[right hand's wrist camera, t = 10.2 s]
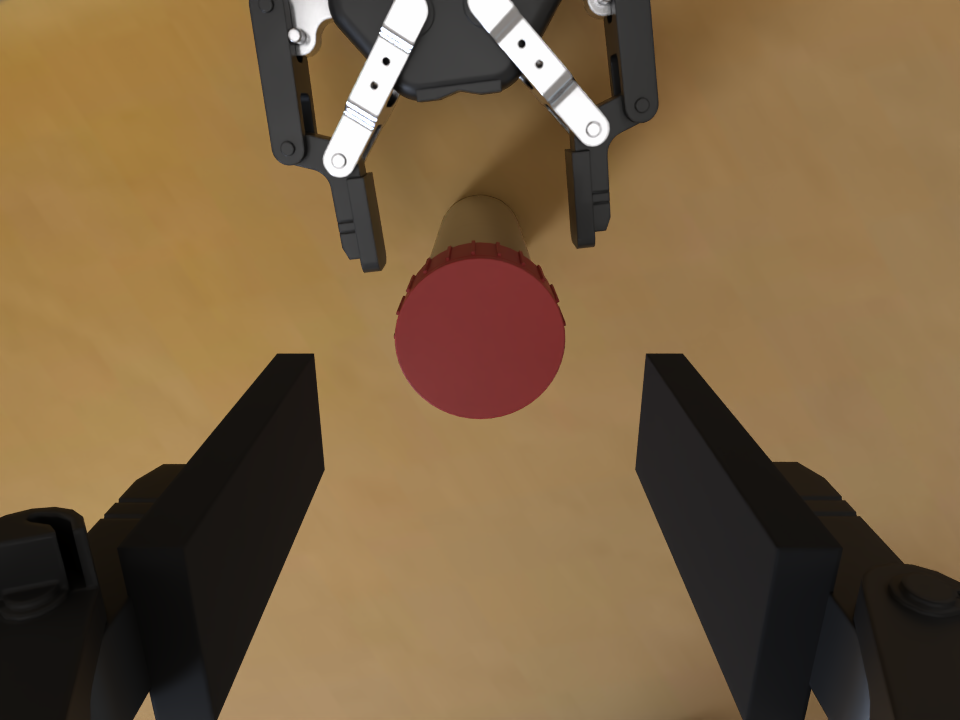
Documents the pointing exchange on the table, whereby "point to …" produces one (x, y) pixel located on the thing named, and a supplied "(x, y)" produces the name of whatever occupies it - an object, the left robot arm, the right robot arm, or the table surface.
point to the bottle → (479, 225)
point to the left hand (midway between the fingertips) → (479, 256)
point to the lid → (479, 331)
